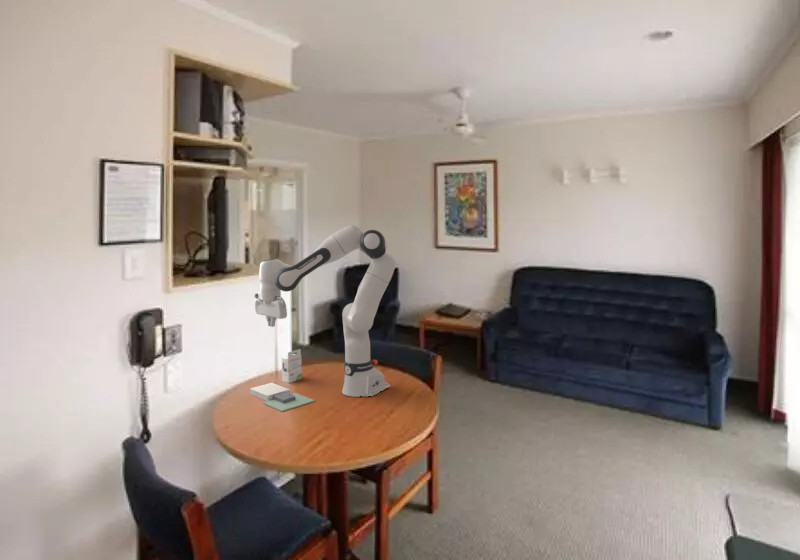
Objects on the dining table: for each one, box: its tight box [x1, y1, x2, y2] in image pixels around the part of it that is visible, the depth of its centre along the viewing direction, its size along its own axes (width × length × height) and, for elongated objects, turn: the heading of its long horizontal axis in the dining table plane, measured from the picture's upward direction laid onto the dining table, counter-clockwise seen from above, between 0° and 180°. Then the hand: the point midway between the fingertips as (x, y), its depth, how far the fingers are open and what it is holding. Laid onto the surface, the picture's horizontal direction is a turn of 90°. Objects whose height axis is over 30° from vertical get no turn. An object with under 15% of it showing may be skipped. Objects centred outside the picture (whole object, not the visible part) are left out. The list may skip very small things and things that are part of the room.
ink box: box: [281, 348, 303, 384], centre depth 235 cm, size 9×5×15 cm, turn 144°
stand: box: [249, 382, 291, 402], centre depth 216 cm, size 11×14×2 cm
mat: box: [262, 392, 316, 413], centre depth 206 cm, size 16×14×1 cm
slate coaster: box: [273, 392, 296, 403], centre depth 208 cm, size 6×8×2 cm
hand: (271, 326), depth 219 cm, fingers closed
